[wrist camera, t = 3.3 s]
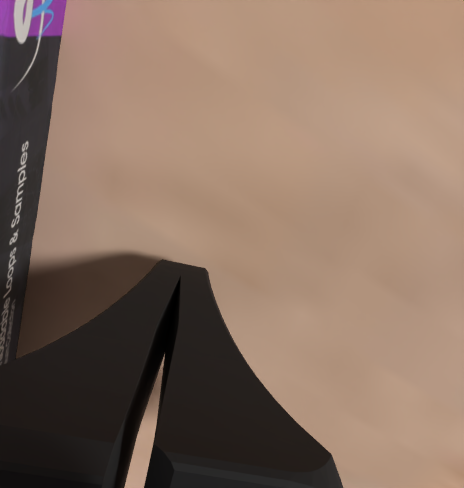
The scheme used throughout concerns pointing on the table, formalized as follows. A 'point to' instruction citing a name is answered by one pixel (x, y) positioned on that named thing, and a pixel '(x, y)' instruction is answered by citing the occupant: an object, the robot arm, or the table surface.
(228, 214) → the table surface
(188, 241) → the table surface
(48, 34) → the box
